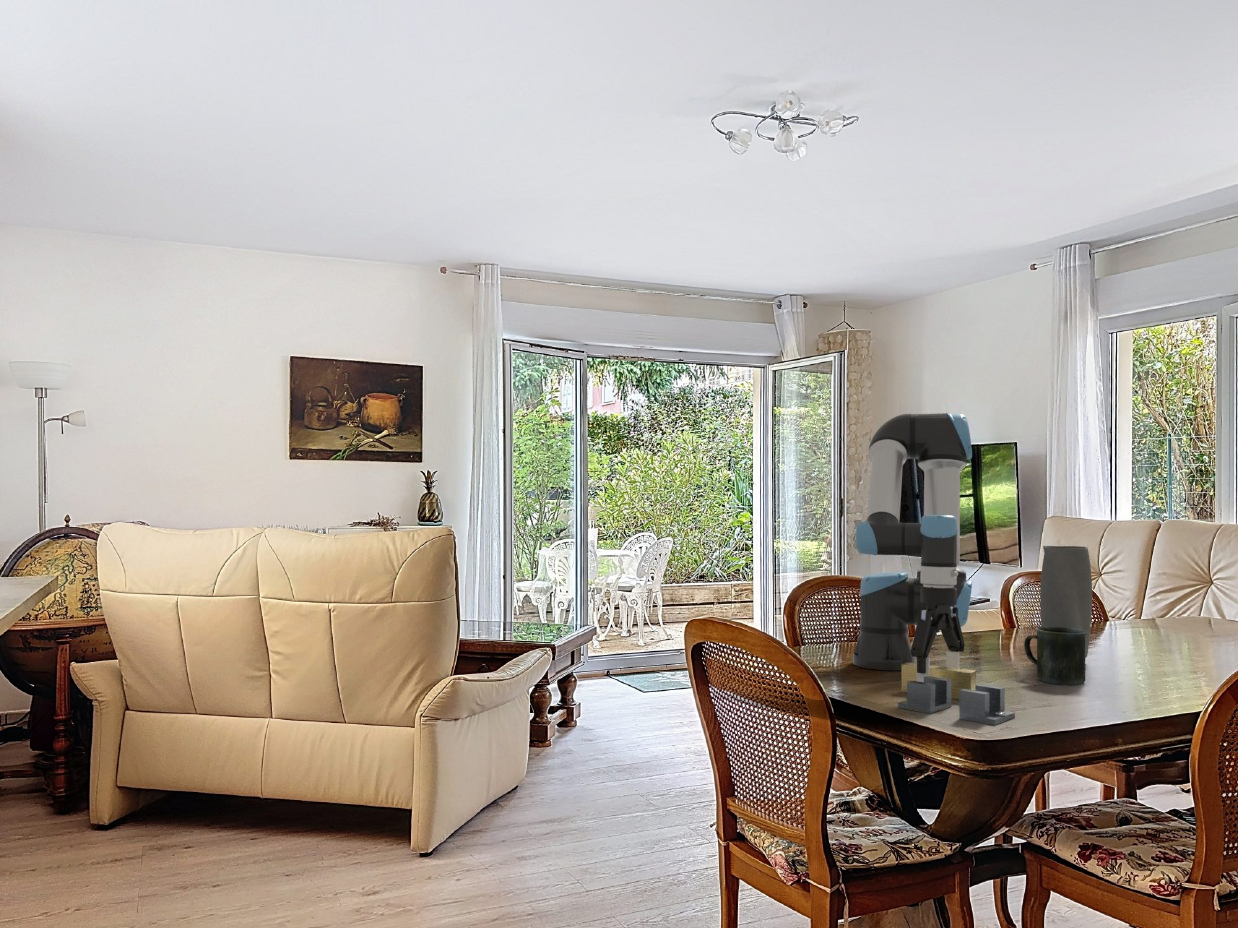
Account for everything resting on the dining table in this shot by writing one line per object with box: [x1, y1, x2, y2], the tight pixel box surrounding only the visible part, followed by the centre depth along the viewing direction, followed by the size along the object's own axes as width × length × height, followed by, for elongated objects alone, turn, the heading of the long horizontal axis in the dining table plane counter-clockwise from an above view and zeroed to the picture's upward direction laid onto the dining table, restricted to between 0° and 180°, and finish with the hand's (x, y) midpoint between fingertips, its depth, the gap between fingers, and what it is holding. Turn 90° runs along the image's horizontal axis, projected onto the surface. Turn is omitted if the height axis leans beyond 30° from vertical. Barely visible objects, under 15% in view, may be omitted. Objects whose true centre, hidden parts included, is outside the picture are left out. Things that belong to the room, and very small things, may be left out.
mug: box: [1023, 626, 1087, 686], centre depth 229 cm, size 11×15×12 cm
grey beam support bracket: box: [958, 683, 1016, 726], centre depth 189 cm, size 7×9×6 cm
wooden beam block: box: [901, 662, 977, 700], centre depth 211 cm, size 15×4×6 cm, turn 53°
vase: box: [1039, 545, 1093, 659], centre depth 254 cm, size 12×12×30 cm
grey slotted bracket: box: [897, 676, 952, 715], centre depth 198 cm, size 7×9×6 cm
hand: (938, 685), depth 211 cm, fingers open, 13 cm apart
